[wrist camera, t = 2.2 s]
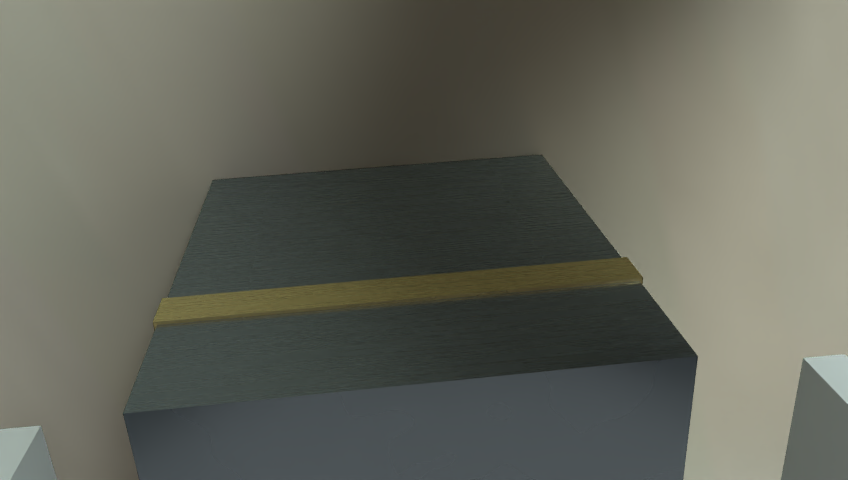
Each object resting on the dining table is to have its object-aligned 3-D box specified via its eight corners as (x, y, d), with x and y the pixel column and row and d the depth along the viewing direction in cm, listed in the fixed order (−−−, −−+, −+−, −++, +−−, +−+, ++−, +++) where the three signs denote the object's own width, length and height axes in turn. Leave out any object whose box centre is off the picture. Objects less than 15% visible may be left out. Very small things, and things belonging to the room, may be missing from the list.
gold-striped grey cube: (255, 449, 19) (211, 786, 12) (210, 178, 17) (117, 410, 9) (538, 419, 20) (656, 724, 13) (543, 151, 17) (701, 352, 10)
